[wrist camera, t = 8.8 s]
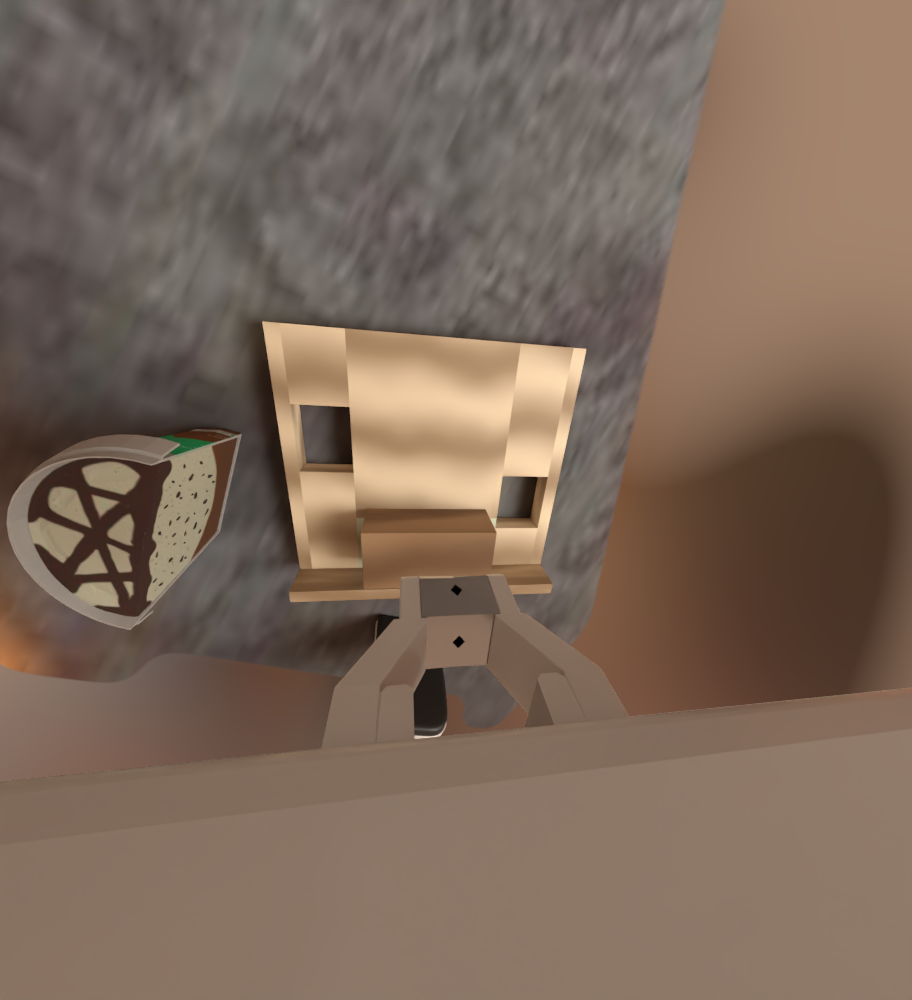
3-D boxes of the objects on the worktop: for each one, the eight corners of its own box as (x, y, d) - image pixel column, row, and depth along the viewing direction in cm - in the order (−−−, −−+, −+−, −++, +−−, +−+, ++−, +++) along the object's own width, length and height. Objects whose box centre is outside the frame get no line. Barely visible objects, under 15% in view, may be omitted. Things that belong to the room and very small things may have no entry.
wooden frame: (273, 323, 22) (240, 317, 18) (574, 349, 26) (609, 349, 21) (307, 564, 31) (290, 602, 26) (531, 560, 34) (550, 592, 29)
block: (367, 508, 27) (360, 533, 23) (485, 509, 28) (496, 532, 25) (369, 559, 29) (363, 589, 25) (479, 557, 30) (489, 585, 27)
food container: (150, 379, 23) (-17, 399, 14) (246, 415, 25) (152, 454, 16) (133, 524, 27) (-4, 612, 18) (216, 546, 29) (129, 636, 20)
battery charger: (367, 637, 35) (351, 756, 25) (377, 611, 34) (364, 725, 24) (428, 648, 37) (436, 762, 27) (440, 624, 36) (453, 734, 26)
